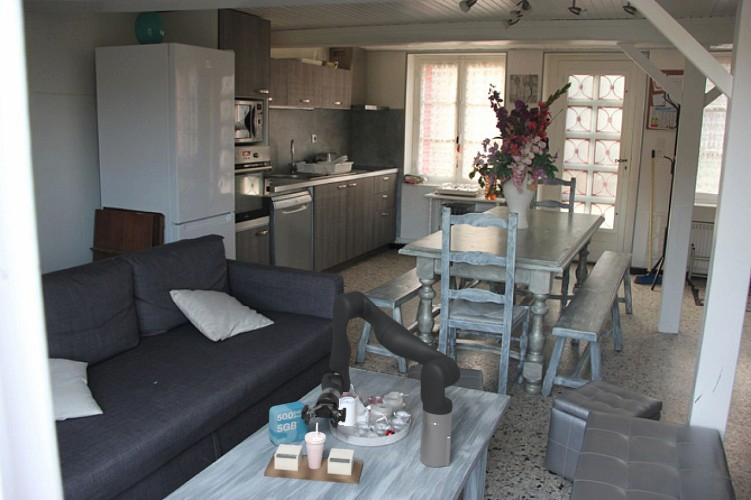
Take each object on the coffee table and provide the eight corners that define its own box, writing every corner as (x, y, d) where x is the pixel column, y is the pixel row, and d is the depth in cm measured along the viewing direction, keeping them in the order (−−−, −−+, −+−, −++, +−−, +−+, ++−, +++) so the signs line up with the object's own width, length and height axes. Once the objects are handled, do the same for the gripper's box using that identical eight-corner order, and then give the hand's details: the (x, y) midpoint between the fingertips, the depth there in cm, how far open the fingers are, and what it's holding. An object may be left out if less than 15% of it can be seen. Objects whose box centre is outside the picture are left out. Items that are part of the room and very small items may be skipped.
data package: (274, 447, 223) (274, 412, 221) (268, 441, 227) (269, 406, 225) (307, 439, 230) (308, 405, 227) (302, 433, 233) (302, 400, 231)
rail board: (362, 464, 214) (363, 446, 213) (358, 483, 203) (358, 465, 201) (273, 456, 217) (274, 439, 216) (264, 476, 205) (264, 458, 204)
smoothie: (316, 473, 205) (317, 429, 203) (299, 467, 209) (300, 423, 206) (329, 464, 211) (330, 421, 208) (312, 458, 214) (313, 416, 211)
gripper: (307, 390, 232) (298, 410, 216) (350, 393, 231) (343, 413, 215) (307, 411, 233) (297, 432, 218) (349, 414, 232) (342, 436, 216)
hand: (320, 423), depth 216 cm, fingers open, 8 cm apart
